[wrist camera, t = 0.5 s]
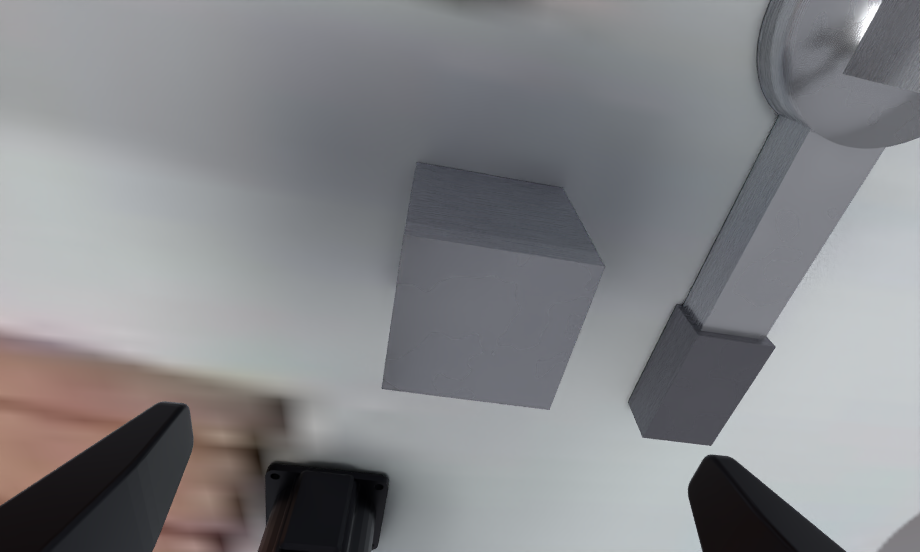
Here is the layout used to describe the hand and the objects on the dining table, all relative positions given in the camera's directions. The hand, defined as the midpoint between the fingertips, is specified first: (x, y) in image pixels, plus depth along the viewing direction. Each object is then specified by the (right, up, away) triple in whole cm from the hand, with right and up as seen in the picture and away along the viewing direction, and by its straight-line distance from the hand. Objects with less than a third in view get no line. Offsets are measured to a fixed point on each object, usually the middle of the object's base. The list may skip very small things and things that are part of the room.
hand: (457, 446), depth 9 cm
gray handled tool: (+12, +5, +11) cm, 17 cm away
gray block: (+1, +4, +11) cm, 12 cm away
